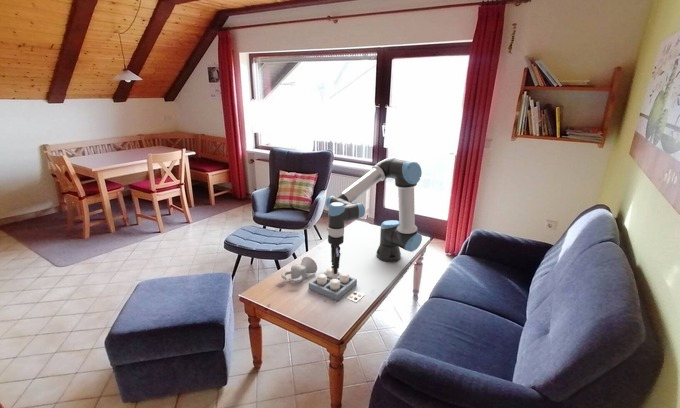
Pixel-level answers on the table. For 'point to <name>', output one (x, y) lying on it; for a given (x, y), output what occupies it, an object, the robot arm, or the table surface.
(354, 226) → the table surface
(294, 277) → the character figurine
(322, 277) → the button
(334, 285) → the button
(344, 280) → the button
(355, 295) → the card
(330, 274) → the button
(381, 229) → the robot arm
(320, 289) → the button board
